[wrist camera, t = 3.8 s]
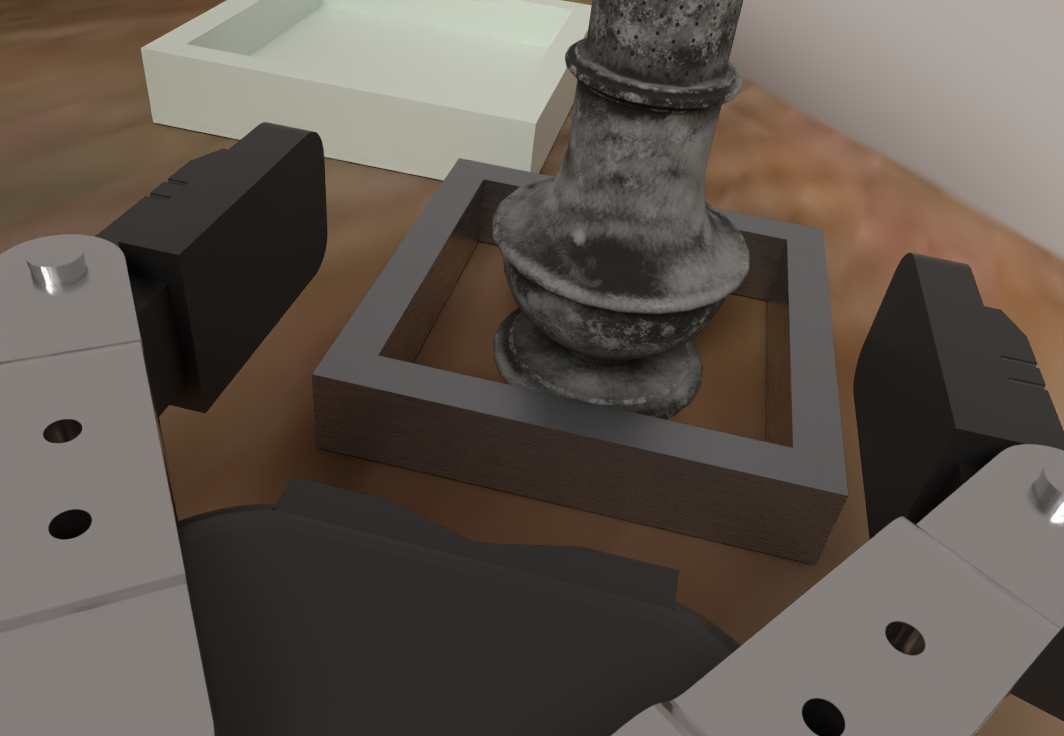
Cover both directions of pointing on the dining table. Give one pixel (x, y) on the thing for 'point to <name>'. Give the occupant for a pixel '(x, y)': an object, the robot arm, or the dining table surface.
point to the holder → (585, 428)
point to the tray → (377, 77)
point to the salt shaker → (626, 216)
